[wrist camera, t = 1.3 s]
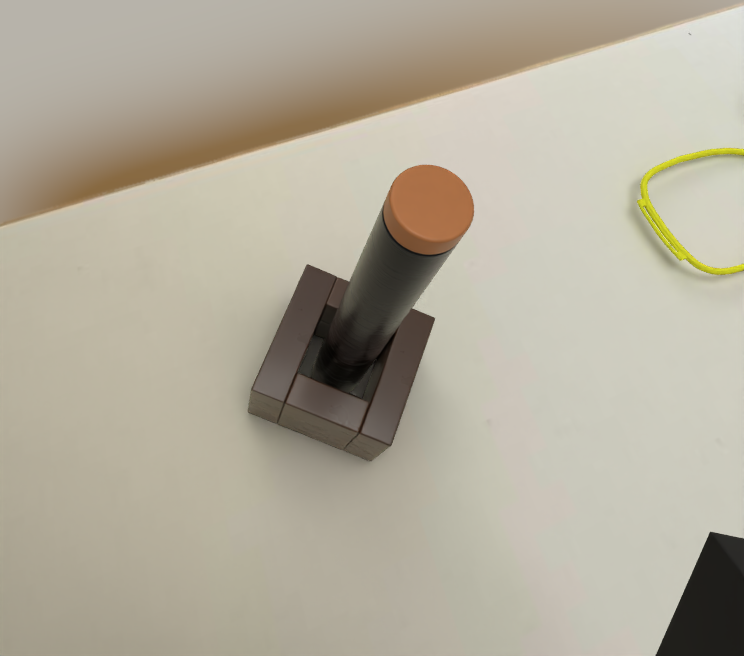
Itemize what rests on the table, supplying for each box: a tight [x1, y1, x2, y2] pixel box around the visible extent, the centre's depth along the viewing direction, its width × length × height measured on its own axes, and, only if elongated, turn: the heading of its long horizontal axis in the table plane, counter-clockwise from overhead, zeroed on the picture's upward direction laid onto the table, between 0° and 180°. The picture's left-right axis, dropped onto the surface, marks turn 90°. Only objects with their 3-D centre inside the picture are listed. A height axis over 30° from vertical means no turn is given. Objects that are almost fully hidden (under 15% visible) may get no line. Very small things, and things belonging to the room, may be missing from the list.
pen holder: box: [248, 264, 435, 461], centre depth 30 cm, size 6×6×4 cm
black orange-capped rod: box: [312, 165, 474, 393], centre depth 25 cm, size 2×2×16 cm
